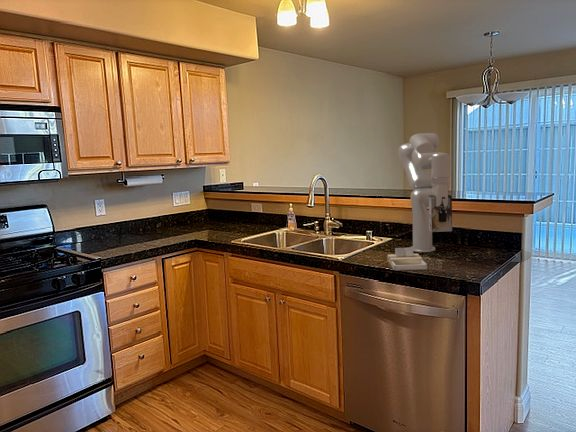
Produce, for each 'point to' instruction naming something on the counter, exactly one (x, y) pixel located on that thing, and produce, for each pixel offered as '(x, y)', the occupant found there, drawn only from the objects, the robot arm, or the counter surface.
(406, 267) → the tray
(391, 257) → the platform
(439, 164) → the robot arm
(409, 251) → the offcut
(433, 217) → the coffee box
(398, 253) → the offcut
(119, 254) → the counter surface
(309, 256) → the counter surface
